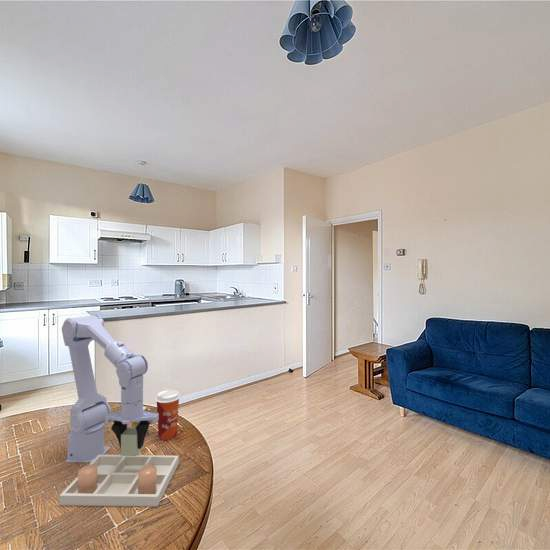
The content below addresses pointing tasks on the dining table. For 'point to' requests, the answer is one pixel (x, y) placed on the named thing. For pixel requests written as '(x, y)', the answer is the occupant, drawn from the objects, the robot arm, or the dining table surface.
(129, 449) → the pale green block
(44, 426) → the dining table surface
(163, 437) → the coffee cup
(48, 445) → the dining table surface
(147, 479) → the tan rounded capsule part
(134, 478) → the white compartment tray
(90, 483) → the tan rounded cylinder
